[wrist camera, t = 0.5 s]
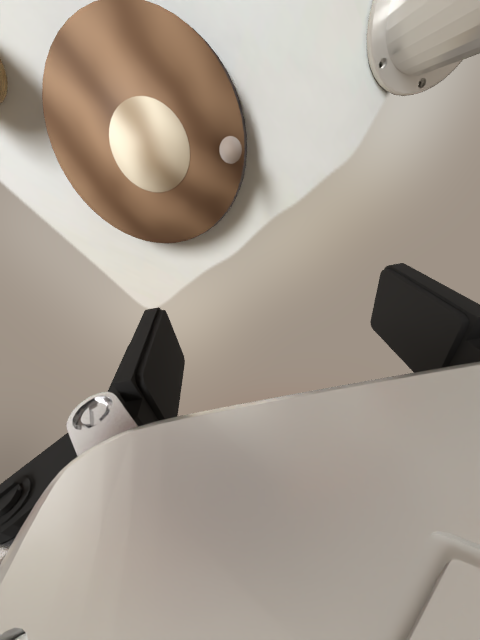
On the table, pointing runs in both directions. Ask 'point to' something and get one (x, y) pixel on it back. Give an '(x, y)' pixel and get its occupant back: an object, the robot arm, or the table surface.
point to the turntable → (143, 120)
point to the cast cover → (2, 83)
